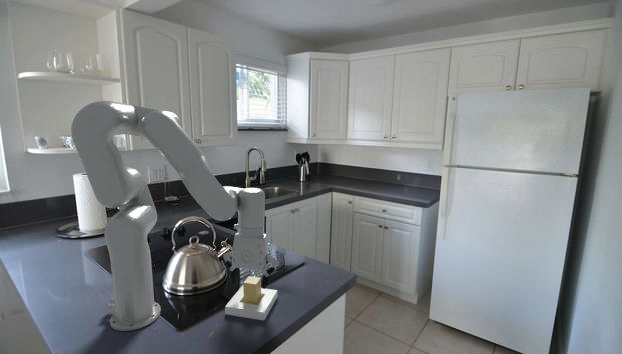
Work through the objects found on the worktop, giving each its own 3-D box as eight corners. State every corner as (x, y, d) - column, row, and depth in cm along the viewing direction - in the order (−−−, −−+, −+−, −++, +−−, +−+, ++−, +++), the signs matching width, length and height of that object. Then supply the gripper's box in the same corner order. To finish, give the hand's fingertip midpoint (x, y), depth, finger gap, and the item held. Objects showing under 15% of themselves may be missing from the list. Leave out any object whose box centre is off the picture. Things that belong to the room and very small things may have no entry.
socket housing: (225, 314, 89) (225, 306, 89) (242, 292, 101) (242, 285, 100) (264, 320, 87) (264, 312, 86) (277, 297, 98) (277, 290, 98)
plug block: (243, 306, 92) (243, 282, 91) (249, 299, 96) (248, 276, 95) (256, 308, 91) (256, 284, 90) (261, 301, 95) (261, 277, 94)
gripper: (217, 231, 87) (217, 286, 90) (275, 238, 84) (273, 295, 87) (229, 223, 95) (229, 274, 98) (283, 229, 91) (281, 282, 94)
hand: (250, 284), depth 92 cm, fingers open, 9 cm apart
